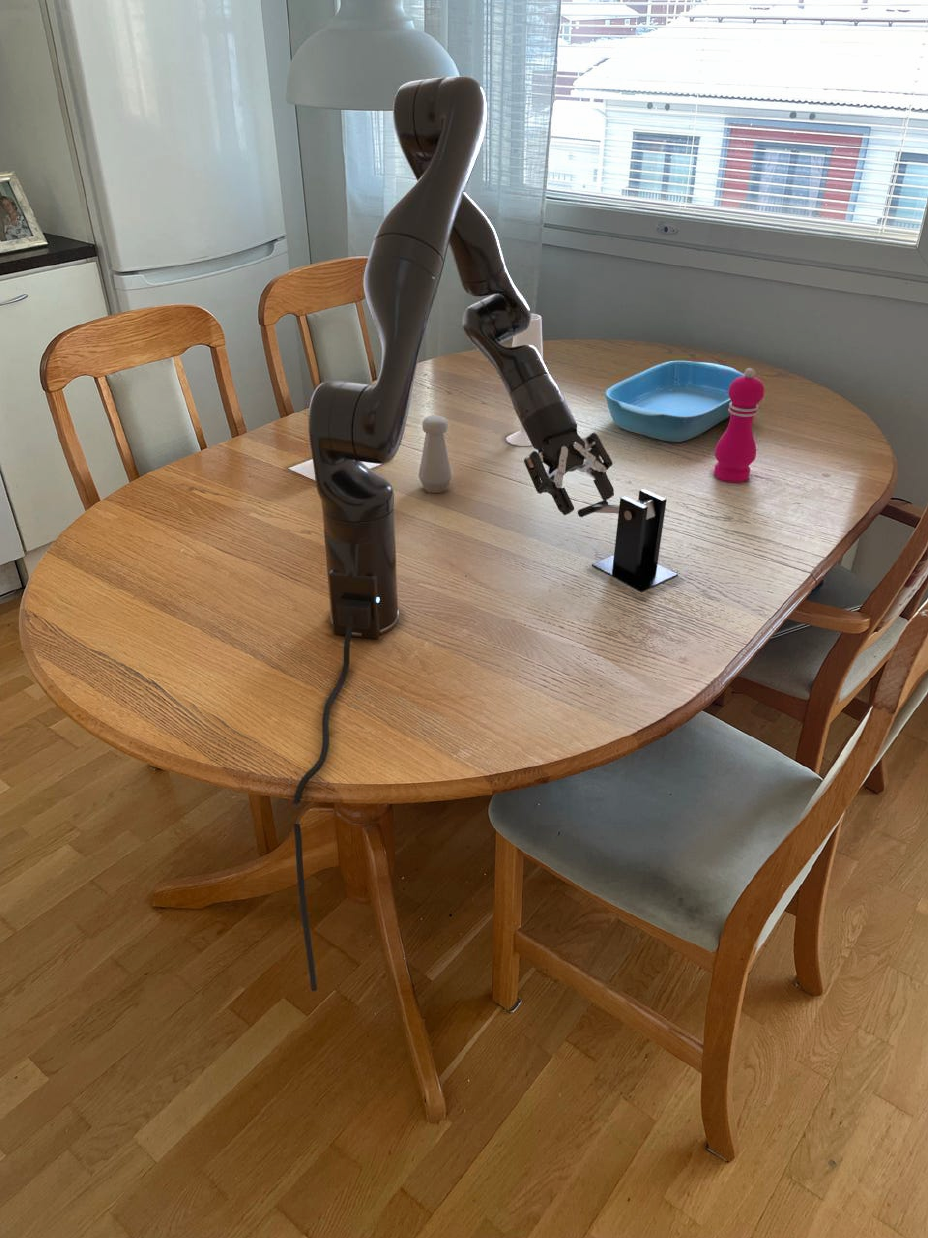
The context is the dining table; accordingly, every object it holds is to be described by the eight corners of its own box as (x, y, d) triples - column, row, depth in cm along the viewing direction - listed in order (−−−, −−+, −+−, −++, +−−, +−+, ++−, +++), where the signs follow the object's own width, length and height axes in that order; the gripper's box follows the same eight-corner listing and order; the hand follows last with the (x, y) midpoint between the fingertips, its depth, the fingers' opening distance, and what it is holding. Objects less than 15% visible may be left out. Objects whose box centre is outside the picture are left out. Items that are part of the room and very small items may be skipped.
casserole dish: (681, 457, 176) (686, 421, 172) (584, 429, 188) (586, 395, 184) (764, 407, 200) (770, 374, 196) (672, 384, 212) (677, 353, 208)
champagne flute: (545, 443, 182) (553, 319, 169) (514, 447, 179) (519, 323, 166) (531, 431, 187) (537, 310, 174) (500, 435, 185) (504, 313, 172)
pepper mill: (706, 478, 168) (724, 370, 157) (716, 464, 173) (734, 359, 163) (746, 486, 165) (767, 377, 154) (755, 472, 171) (776, 365, 160)
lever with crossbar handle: (578, 520, 139) (576, 505, 139) (604, 511, 142) (601, 495, 142) (637, 523, 130) (634, 507, 129) (663, 512, 133) (661, 496, 132)
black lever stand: (591, 571, 139) (598, 493, 132) (627, 555, 143) (636, 479, 136) (640, 598, 133) (651, 518, 126) (677, 581, 137) (689, 503, 130)
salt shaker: (447, 496, 161) (447, 425, 154) (415, 493, 162) (414, 422, 155) (454, 482, 166) (454, 413, 158) (423, 479, 166) (422, 410, 159)
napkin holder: (327, 486, 164) (325, 456, 161) (287, 468, 170) (284, 439, 167) (388, 461, 173) (387, 432, 170) (347, 445, 180) (345, 417, 177)
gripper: (520, 409, 135) (569, 508, 133) (589, 390, 142) (636, 483, 141) (496, 433, 141) (542, 527, 140) (563, 413, 149) (608, 502, 147)
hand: (589, 505), depth 140 cm, fingers open, 8 cm apart
